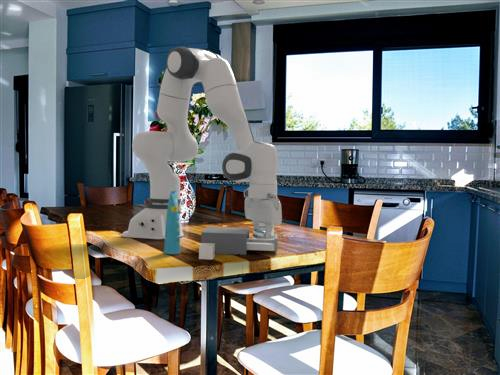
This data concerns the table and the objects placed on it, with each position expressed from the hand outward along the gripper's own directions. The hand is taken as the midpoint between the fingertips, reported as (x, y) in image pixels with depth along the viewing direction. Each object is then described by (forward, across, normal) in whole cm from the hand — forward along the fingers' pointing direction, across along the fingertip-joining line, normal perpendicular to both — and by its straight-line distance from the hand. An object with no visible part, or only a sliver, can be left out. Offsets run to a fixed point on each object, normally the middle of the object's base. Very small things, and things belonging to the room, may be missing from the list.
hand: (262, 236), depth 146 cm
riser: (+5, -5, +20) cm, 21 cm away
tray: (+3, +1, +1) cm, 4 cm away
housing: (+5, +6, +10) cm, 12 cm away
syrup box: (+5, +21, -12) cm, 25 cm away
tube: (+5, +5, +28) cm, 29 cm away
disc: (0, 0, 0) cm, 0 cm away
